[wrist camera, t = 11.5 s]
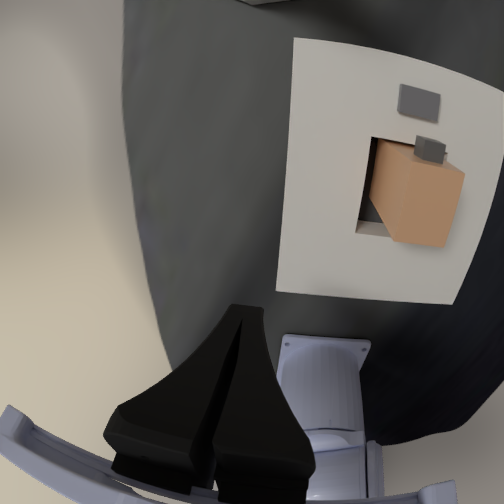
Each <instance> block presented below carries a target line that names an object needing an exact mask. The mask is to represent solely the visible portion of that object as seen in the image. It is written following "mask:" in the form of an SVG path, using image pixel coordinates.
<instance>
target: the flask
mask: <svg viewBox="0 0 504 504" xmlns="http://www.w3.org/2000/svg"><path fill="white" fill-rule="evenodd" d="M240 1H243V2H246V3H248V4H251V5H256V4H263V3H271V2H279V1H289V0H240Z"/></svg>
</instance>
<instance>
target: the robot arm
mask: <svg viewBox="0 0 504 504" xmlns="http://www.w3.org/2000/svg"><path fill="white" fill-rule="evenodd" d="M263 314H264V309H263V308H262V307H254V306H245V305H237V304H231V305H230V306H229V307H228V309H227V311H226V312H225V314H224V315H223V317H222V318H221V320H220V321H219V322H218V324H217V325H216V327H215V328H214V329H213V330H212V332H211V333H210V334H209V335H208V337H207V338H206V339H205V340H204V341H203V342H202V343H201V345H200V346H199V347H198V348H197V349H196V350H195V351H194V352H193V353H192V354H191V355H190V356H189V357H188V358H187V359H186V360H185V361H184V362H183V363H182V364H181V365H180V366H178V367H177V368H176V369H175V370H174V371H172V372H171V373H170V374H169V375H167V376H166V377H165V378H163V379H162V380H161V381H159V382H158V383H157V384H155V385H153V386H152V387H150V388H149V389H147V390H146V391H144V392H143V393H141V394H139V395H137V396H135V397H133V398H132V399H130V400H128V401H126V402H124V403H122V404H120V405H118V406H117V408H116V409H115V411H114V413H113V414H112V416H111V417H110V420H109V422H108V424H107V426H106V428H105V430H104V433H103V437H104V439H105V440H106V442H108V444H109V445H110V446H111V447H112V448H113V449H114V450H115V451H116V452H117V453H116V456H115V458H114V461H113V462H112V461H110V460H107V459H104V458H102V457H100V456H97V455H95V454H93V453H90V452H88V451H86V450H84V449H81V448H79V447H77V446H75V445H73V444H71V443H69V442H66V441H65V440H63V439H61V438H59V437H57V436H55V435H53V434H51V433H49V432H47V431H46V430H43V429H42V428H40V427H38V426H37V425H35V424H34V423H33V422H32V421H31V419H30V418H28V417H27V416H26V415H25V414H23V413H22V412H20V411H19V410H17V409H15V408H14V407H12V406H11V405H7V407H6V409H5V410H4V412H3V414H2V416H1V417H0V454H1V455H2V456H4V457H5V458H7V459H8V460H9V461H10V462H12V463H13V464H15V465H16V466H17V467H19V468H20V469H22V470H23V471H25V472H26V473H28V474H29V475H30V476H32V477H33V478H35V479H37V480H38V481H40V482H41V483H43V484H44V485H46V486H48V487H49V488H51V489H53V490H54V491H56V492H58V493H60V494H62V495H63V496H65V497H67V498H69V499H71V500H72V501H75V502H76V503H79V504H166V503H163V502H159V501H155V500H152V499H148V498H145V497H142V496H141V495H139V494H137V493H136V492H135V491H133V489H132V488H131V487H128V486H126V485H124V484H127V485H130V486H133V487H136V488H139V489H142V490H145V491H148V492H151V493H154V494H157V495H161V496H164V497H168V498H172V499H175V500H179V501H183V502H187V503H191V504H458V503H457V493H456V485H455V481H454V480H449V481H445V482H441V483H436V484H432V485H429V486H426V487H424V488H422V489H420V490H419V491H418V492H412V493H407V494H400V495H393V496H385V497H384V475H383V474H384V473H383V459H382V446H380V445H379V444H377V443H376V442H375V441H374V440H372V441H368V442H367V444H366V438H365V433H364V419H363V407H362V396H361V386H360V377H359V371H360V369H361V367H362V365H363V363H364V360H365V358H366V356H367V354H368V352H369V349H370V347H371V342H370V341H369V340H362V339H344V338H329V337H316V336H304V335H293V334H286V335H284V336H283V338H282V345H281V351H280V358H279V364H278V370H277V376H276V375H275V372H274V369H273V366H272V363H271V359H270V356H269V352H268V348H267V343H266V339H265V333H264V325H263ZM363 348H364V349H363ZM113 479H114V480H113ZM115 480H117V481H119V482H117V481H115ZM214 480H215V481H216V484H217V487H218V491H214V490H212V489H213V485H214ZM120 482H122V483H124V484H122V483H120Z"/></svg>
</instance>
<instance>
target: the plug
mask: <svg viewBox="0 0 504 504" xmlns="http://www.w3.org/2000/svg"><path fill="white" fill-rule="evenodd" d="M445 150H446V144H444V143H442V142H440V141H438V140H435V139H431V138H427V137H423V136H418V135H416V141H415V145H413V144H409V143H404V142H399V141H394V140H389V139H383V138H378V144H377V151H376V158H375V164H374V170H373V176H372V182H371V188H370V193H369V198H370V199H371V201H372V203H373V205H374V206H375V208H376V210H377V212H378V214H379V215H380V217H381V219H382V221H383V223H384V225H385V226H386V228H387V230H388V232H389V234H390V236H391V238H392V240H393V241H395V242H403V243H411V244H419V245H426V246H434V247H442V248H444V246H445V243H446V240H447V237H448V234H449V231H450V228H451V225H452V222H453V218H454V215H455V212H456V208H457V204H458V201H459V197H460V193H461V189H462V185H463V181H464V177H465V173H464V172H462V171H461V170H459V169H458V168H456V167H455V166H453V165H452V164H450V163H449V162H447V161H445V160H444V155H445Z"/></svg>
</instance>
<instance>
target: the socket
mask: <svg viewBox="0 0 504 504" xmlns="http://www.w3.org/2000/svg"><path fill="white" fill-rule="evenodd" d="M416 135H418V136H423V137H427V138H431V139H435V140H438V141H440V142H442V143H444V144H446V150H445V155H444V160H445V161H447V162H449V163H450V164H452V165H453V166H455V167H456V168H458V169H459V170H461V171H462V172H464V173H465V177H464V181H463V185H462V189H461V193H460V197H459V201H458V204H457V208H456V212H455V215H454V218H453V222H452V225H451V228H450V231H449V234H448V237H447V240H446V243H445V246H444V248H442V247H434V246H426V245H419V244H411V243H403V242H395V241H393V240H392V238H391V236H390V234H389V232H388V230H387V228H386V226H385V225H384V224H383V223H376V222H368V221H360V220H358V215H359V210H360V204H361V199H362V193H363V187H364V182H365V176H366V169H367V163H368V156H369V149H370V142H371V136H372V137H378V138H383V139H389V140H394V141H399V142H404V143H409V144H413V145H415V141H416ZM503 156H504V92H502V91H500V90H498V89H496V88H494V87H491V86H489V85H487V84H485V83H482V82H480V81H478V80H475V79H473V78H470V77H468V76H465V75H463V74H460V73H457V72H454V71H452V70H449V69H446V68H443V67H440V66H437V65H434V64H431V63H428V62H424V61H421V60H417V59H414V58H410V57H407V56H403V55H399V54H395V53H391V52H386V51H382V50H377V49H373V48H368V47H362V46H357V45H351V44H345V43H338V42H331V41H323V40H315V39H305V38H294V49H293V70H292V90H291V107H290V124H289V139H288V154H287V168H286V181H285V194H284V206H283V218H282V230H281V241H280V252H279V263H278V273H277V283H276V291H282V292H292V293H302V294H313V295H324V296H335V297H347V298H359V299H372V300H386V301H401V302H417V303H434V304H453V302H454V300H455V298H456V295H457V293H458V291H459V289H460V287H461V285H462V282H463V280H464V278H465V275H466V273H467V271H468V268H469V266H470V264H471V261H472V259H473V256H474V254H475V251H476V248H477V246H478V243H479V240H480V238H481V235H482V232H483V229H484V226H485V223H486V220H487V217H488V214H489V210H490V207H491V204H492V200H493V197H494V193H495V190H496V186H497V182H498V178H499V174H500V170H501V165H502V161H503Z"/></svg>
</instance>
